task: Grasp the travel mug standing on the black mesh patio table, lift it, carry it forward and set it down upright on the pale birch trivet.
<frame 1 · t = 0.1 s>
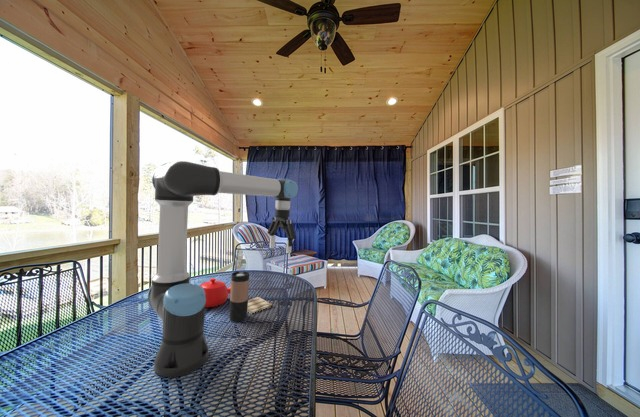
hand: (280, 250, 121), 28 cm above the table, fingers open, 13 cm apart
trivet: (255, 306, 118), on the table
teapot: (213, 302, 119), on the table
travel mug: (238, 318, 105), on the table
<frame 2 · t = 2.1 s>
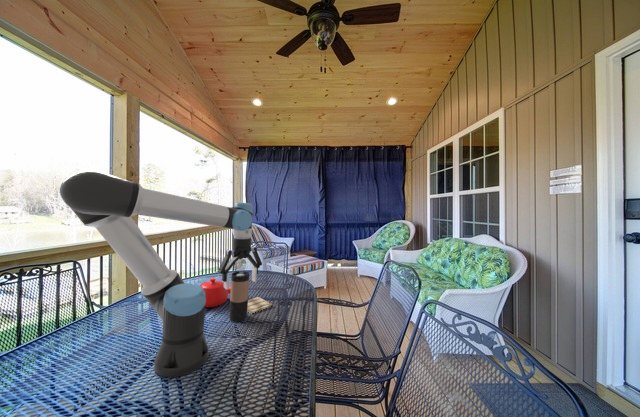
hand: (240, 284, 105), 15 cm above the table, fingers open, 13 cm apart
nothing on the table moved.
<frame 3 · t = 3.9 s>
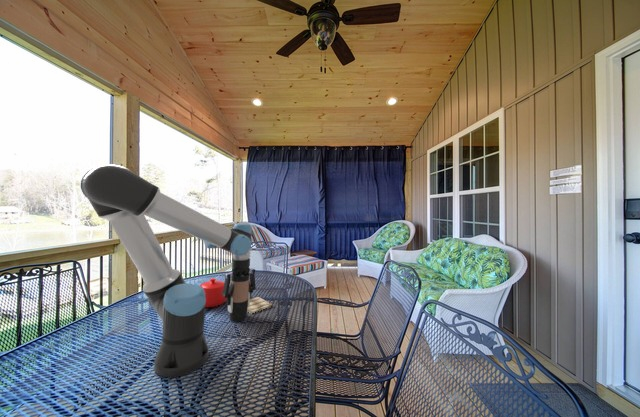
hand: (238, 308, 105), 4 cm above the table, fingers closed on travel mug, 8 cm apart
travel mug: (238, 318, 105), on the table, touching gripper
everything else where it was.
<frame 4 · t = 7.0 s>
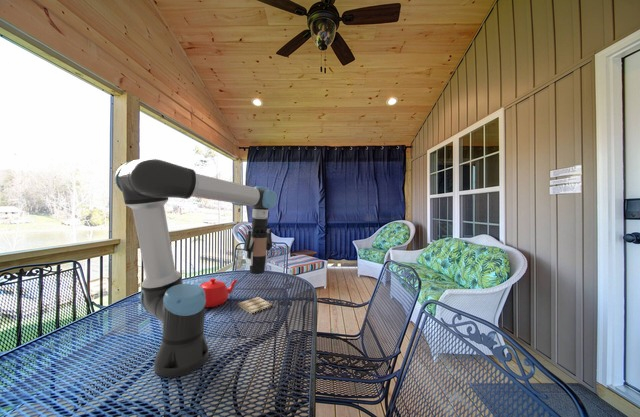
hand: (257, 263, 117), 21 cm above the table, fingers closed on travel mug, 8 cm apart
travel mug: (257, 272, 117), point 17 cm above the table, touching gripper
everything else where it was.
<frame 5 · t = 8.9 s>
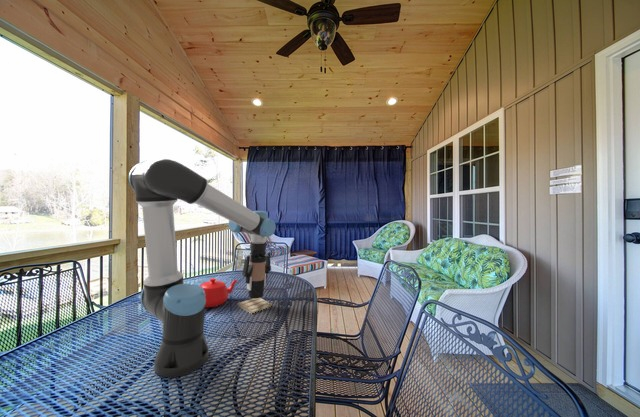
hand: (256, 287, 117), 9 cm above the table, fingers closed on travel mug, 8 cm apart
travel mug: (255, 296, 117), point 5 cm above the table, touching gripper
everything else where it was.
when the fingers open (7 cm above the table, at t = 10.4 s): travel mug stays where it is, resting on trivet.
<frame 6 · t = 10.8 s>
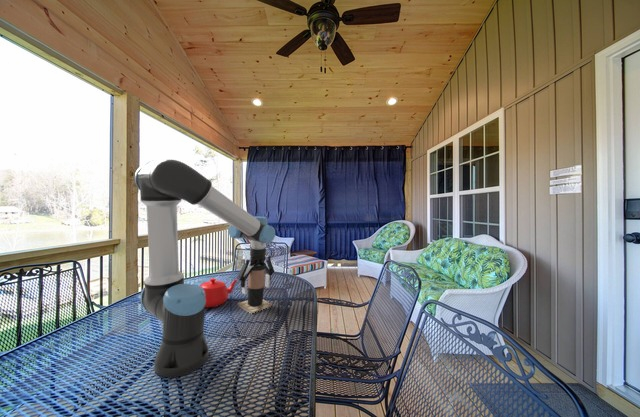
hand: (256, 290, 117), 8 cm above the table, fingers open, 13 cm apart
travel mug: (255, 303, 117), point 1 cm above the table, touching trivet
everything else where it was.
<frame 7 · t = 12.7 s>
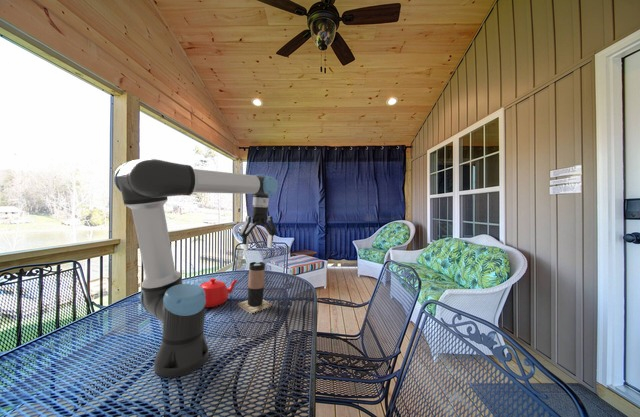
hand: (258, 249, 117), 29 cm above the table, fingers open, 13 cm apart
nothing on the table moved.
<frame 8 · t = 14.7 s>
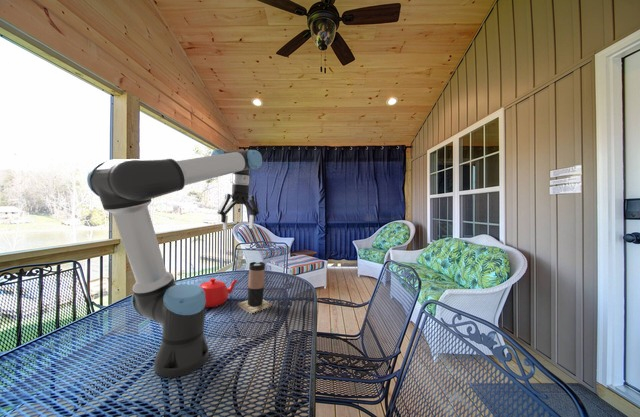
hand: (238, 229, 112), 39 cm above the table, fingers open, 13 cm apart
nothing on the table moved.
at the end: travel mug inside the target area on the trivet (0.1 cm from its centre), point 1.3 cm above the trivet's base; travel mug tilted 0°; travel mug touching trivet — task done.
